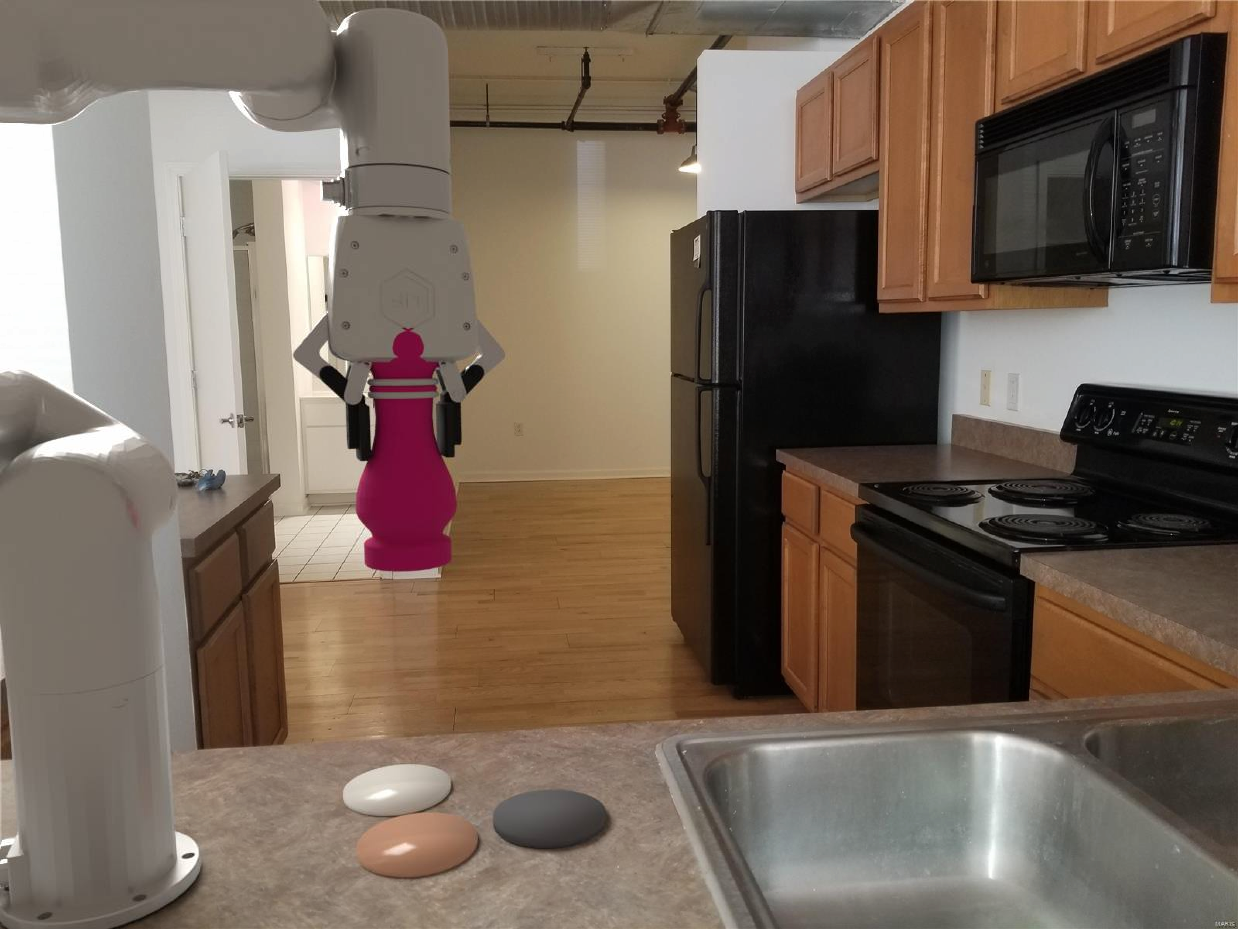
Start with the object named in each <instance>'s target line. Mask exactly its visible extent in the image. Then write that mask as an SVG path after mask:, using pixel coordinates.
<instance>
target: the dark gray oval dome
mask: <svg viewBox="0 0 1238 929" xmlns="http://www.w3.org/2000/svg"><path fill="white" fill-rule="evenodd" d="M492 817H493V818H492V819H493V820H492V826H493V829H494V832H495V834H497V836H499V837H500V838H501V839H503V840H505V841H507V842H509V843H512V844H515V845H518V846H522V847H526V848H527V847H528V848H537V849H557V848H563V847H571V846H575V845H579V844H582V843H585V842H586V841H589V840H591V839H593V838H594V837H596V836H597V835H598V834H600V833H601V832H602V830H603V829H604V828H605V826H606V822H607V809H606V806H605V805H604V804H603V803H602V801H600V800H599V799H597V798H595V797H594V796H591V795H589V794H586V793H583V792H580V791H579V792H578V791H574V790H567V789H566V790H565V789H540V790H531V791H527V792H522V793H520V794H519V793H518V794H515V795H513V796H511V797H508V798H506V799H504V800H503V801H501V802H500V803H499V804H498V805H497V806H496V807H495V809H494V811H493V814H492Z"/></svg>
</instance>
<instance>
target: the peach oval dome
mask: <svg viewBox="0 0 1238 929" xmlns="http://www.w3.org/2000/svg"><path fill="white" fill-rule="evenodd" d="M478 836H479V835H478V831H477V829H476V827H475V825H473V824H472V822H471V821H468V820H467V819H466V818H463V817H461V816H458V815H455V814H450V813H445V812H434V811H433V812H414V813H409V814H404V815H398V816H396V817H395V816H394V817H392V818H389V819H386V820H384V821H382V822H379V823H378V824H376V825H374V826H372V827H370V828H369V829H368V830H367V831H365V832H364V833H363V834H362V835H361V836H360V838H359V839H358V841H357V843H356V849H355V850H356V851H355V852H356V858H357V861H358V863H359V864H360V865H361V867H363V868H365V869H366V870H368V871H370V872H372V873H373V874H377V875H380V876H384V877H389V878H390V877H392V878H418V877H419V878H420V877H425V876H430V875H435V874H438V873H442V872H444V871H447V870H449V869H451V868H454V867H456V866H458V865H460V864H462V863H464V861H466V860H467V859H468V858H470V856H471V855H473V853H474V852H475V850H476V848H477V846H478V843H479V842H478Z"/></svg>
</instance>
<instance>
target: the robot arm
mask: <svg viewBox="0 0 1238 929" xmlns="http://www.w3.org/2000/svg"><path fill="white" fill-rule="evenodd" d="M446 38H447V37H446V35H445V33H444V31H443V29H442V28H441V26H439V24H438V23H436V22H435V21H434V20H433V19H431V18H429V17H427V16H426V15H423V14H420V13H417V12H414V11H410V10H405V9H401V8H390V7H375V8H369V9H362V10H359V11H356V12H354V13H352V14H350V15H349V16H347V17H346V18H345V19H343V21H342V22H341V24H340V26H339V28H338V29H337V30H332V28H331V24H330V21H329V19H328V17H327V14H326V12H325V11H324V8H323V6H321V4H320V2H319V1H318V0H0V124H1V125H2V124H3V125H4V124H5V125H31V126H33V125H35V126H53V125H59V124H63V123H66V122H68V121H70V120H73V119H74V118H76V117H78V116H79V115H81V113H82V112H83V111H84V110H86V109H87V108H89V107H90V106H91V105H93V104H94V103H96V102H98V101H100V100H103V99H105V98H106V99H107V98H109V97H113V96H116V95H121V94H127V93H135V92H146V91H202V92H203V91H204V92H205V91H206V92H225V93H229V95H230V98H232V101H233V102H234V103H235V105H236V106H237V108H238V109H239V111H241V113H243V115H244V116H246V118H248V119H249V120H250V121H252V122H253V123H255V124H256V125H258V126H261V127H263V128H265V129H268V130H272V131H275V132H283V133H302V132H303V133H305V132H312V131H314V132H315V131H321V130H329V129H339V132H340V133H339V138H340V139H339V140H340V165H341V166H340V167H341V170H340V171H341V174H340V175H338V177H337V178H336V179H333V178H332V179H331V180H330V181H329V180H320V200H321V201H325V202H332V204H337V206H338V207H339V208H341V214H342V215H337V216H335V217H334V218H333V222H332V227H331V233H330V240H329V255H328V256H329V257H328V268H327V282H326V313H324V314H323V316H322V317H321V318H320V320H319V321H318V322H317V323H316V324H315V325H314V326H313V328H311V330H310V332H308V334H307V335H306V336H305V337H304V338H303V340H302V341H301V342H300V343H299V344H298V346H296V348H295V349H294V350H293V352H292V357H293V359H294V360H295V362H297V363H298V364H299V365H301V366H302V367H303V368H305V369H306V370H307V371H309V372H310V373H311V374H313V375H314V376H315V377H316V378H318V379H319V380H320V381H321V382H323V384H325V386H327V388H329V389H330V390H331V391H332V392H333V393H334V394H335V395H336V396H337V397H338V398H339V399H341V400H342V401H343V402H344V403H345V422H346V424H345V426H346V447H347V449H348V450H355V454H356V455H355V456H356V459H357V460H358V461H359V462H367V461H368V460H369V459H371V449H372V440H371V438H372V435H371V434H372V433H371V410H370V409H371V408H370V405H368V404H366V395H365V394H364V393H365V387H366V384H367V381H368V378H369V375H370V372H371V371H370V368H371V364H372V363H371V362H390V361H391V360H392V359H394V358H397V356H396V355H394V353H393V348H392V347H393V342H394V339H395V338H396V336H397V335H398V334H399V333H401V332H404V331H405V330H404V329H402V328H404V327H405V328H407V329H409V328H411V327H412V328H414V329H413V330H411V331H410V332H415V333H417V334H418V335H420V337H421V339H422V341H423V344H424V351H423V354H422V355H421V356H420V357H421V358H423V359H424V360H426V362H438V367H437V368H436V369H435V371H434V374H435V378H436V379H438V381H439V382H438V385H439V388H440V391H441V392H440V393H439V400H438V401H437V402H436V404H435V418H436V419H435V420H436V421H435V422H436V423H435V426H436V428H435V429H436V441H437V445H438V448H439V450H440V453H441V455H442V457H444V458H446V459H450V458H455V455H456V446H461V445H462V440H463V438H462V437H463V434H462V432H463V431H462V429H463V428H462V402H463V401H464V400H466V397H467V395H468V394H469V393H470V392H471V391H473V389H474V388H475V387H476V386H477V385H478V384H479V383H480V382H481V381H482V379H483V378H484V377H485V376H486V375H487V374H488V373H489V372H491V371H492V370H493V369H494V368H495V367H497V365H498V364H500V363H501V362H502V361H503V360H504V359H505V358H506V357H505V356H506V352H505V349H504V348H503V347H502V346H501V344H500V343H498V341H497V340H496V339H495V338H494V336H493V335H492V334H491V333H490V332H489V331H488V330H487V328H486V327H485V326H484V325H483V324H482V322H481V321H480V320H479V319H478V316H477V314H478V313H477V306H476V294H475V292H476V291H475V285H474V284H475V283H474V274H473V266H472V259H471V251H470V246H469V241H468V236H467V231H466V228H465V225H464V224H465V223H464V222H463V221H460V220H456V219H455V220H454V219H453V206H452V205H453V204H452V203H453V202H452V201H453V200H452V198H453V197H452V166H451V127H450V126H451V121H450V118H451V117H450V116H451V115H450V84H449V83H450V81H449V78H450V75H449V74H450V72H449V51H448V42H447V39H446ZM326 343H327V344H328V350H329V351H330V354H331V355H332V356H334V357H335V358H337V359H339V360H342V361H347V362H348V366H347V369H346V373H345V376H344V375H343V374H342V373H341V372H340V371H339V370H338V369H337V368H335V367H334V366H333V365H332V364H330V363H329V362H328V361H326V360H325V359H324V358H323V357H322V356H321V353H320V352H321V349H322V348H323V346H325V344H326ZM477 350H478V355H477V357H476V358H475V359H474V360H473V361H472V362H471V363H470V364H468V365H467V366H465V367H464V369H462V371H459V370H460V369H459V368H458V363H457V362H459V361H462V360H463V361H464V360H466V359H467V360H468V359H469V358H471V357H472V356H474V355H475V353H476V352H477ZM178 492H179V490H178V481H177V477H176V474H175V471H174V469H173V467H172V464H171V463H170V461H169V460H168V458H167V457H166V455H165V454H164V452H162V451H161V449H160V448H159V447H157V446H156V445H155V444H154V443H153V442H152V441H151V440H149V439H148V438H146V437H145V436H143V435H142V434H140V433H139V432H137V431H135V430H134V429H133V428H130V427H129V426H127V425H126V424H124V423H122V422H121V421H119V420H118V419H116V418H114V417H113V416H111V415H110V414H108V413H106V412H104V411H103V410H101V409H100V408H98V407H96V406H95V405H93V404H92V403H90V402H88V401H86V400H85V399H83V398H81V397H80V396H78V395H77V394H75V393H73V392H72V391H71V390H69V389H68V388H65V387H64V386H62V385H60V383H57V382H56V381H54V380H53V379H51V378H49V377H47V376H46V375H44V374H43V373H41V372H39V371H38V370H36V369H34V368H33V367H31V366H29V365H27V364H26V363H24V362H22V361H19V360H17V359H16V358H13V357H11V356H10V355H7V354H5V353H3V352H0V636H1V645H2V655H3V656H2V658H3V665H4V668H3V669H4V678H5V681H4V682H5V686H6V698H7V708H8V710H7V711H8V721H9V722H8V723H9V734H10V736H9V737H10V745H11V758H12V771H13V774H12V775H13V783H14V784H13V785H14V786H13V787H14V796H15V797H14V798H15V809H16V820H17V821H16V822H17V823H16V824H17V833H16V835H12V836H8V837H7V836H5V837H3V838H2V841H1V843H0V923H1V924H2V926H4V927H6V928H7V929H113V928H117V927H120V926H123V925H126V924H128V923H131V922H133V921H136V920H139V919H141V918H144V917H145V916H148V915H150V914H151V913H154V912H156V911H158V910H160V909H162V908H163V907H166V905H168V904H170V903H171V902H173V901H175V899H177V898H178V897H180V896H181V895H182V894H183V893H184V892H186V890H188V889H189V887H191V885H193V883H194V882H195V881H196V879H197V877H198V875H199V874H200V872H201V866H202V860H201V858H202V857H201V849H200V847H199V845H198V843H197V841H195V840H194V839H193V838H192V837H190V836H189V835H187V834H184V833H181V832H179V831H176V819H175V818H176V817H175V804H174V788H173V774H172V773H173V772H172V755H171V739H170V738H171V737H170V724H169V723H170V722H169V720H170V719H169V707H168V706H169V704H168V690H167V674H166V660H165V646H164V645H165V644H164V635H163V634H164V633H163V622H162V611H161V602H160V597H159V596H160V595H159V589H158V584H157V579H156V573H155V564H154V556H153V540H155V539H156V538H157V537H158V535H160V534H161V533H162V532H163V530H164V529H165V528H166V527H167V525H168V524H169V522H170V521H171V518H172V517H173V515H174V513H175V510H176V506H177V502H178V497H179V496H178Z"/></svg>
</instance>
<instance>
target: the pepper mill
mask: <svg viewBox="0 0 1238 929" xmlns="http://www.w3.org/2000/svg"><path fill="white" fill-rule="evenodd" d="M402 329H404V330H405V331H404V332H401V333H399V334H398V335H397V336H396V338H395V339H394V342H393V347H392V348H393V353H394V355H396V356H397V358H394V359H392V360H391V361H390V362H371V363H372V364H371V368H370V371H369V372H370V374H371V375H372V378H369V379H367V381H366V384H368V386H369V387H368V390H369V392H367V397H368V398H370V399H373V406H374V416H375V422H374V423H375V424H374V435H373V436H374V437H373V440H372V441H373V442H372V444H371V459H369V460H368V461H366V463H365V466H364V469H363V471H362V473H361V476H360V477H359V478H360V479H359V482H358V486H357V489H356V490H357V491H356V494H355V495H356V496H355V514H356V515H357V516H356V517H357V518H358V520H359V521H360V522H361V524H363V526H364V527H365V528H366V529H367V530H368V531H369V532H370V533H371V536H370V537H369V538H367V539H366V540H365V541H364V543H363V551H364V552H363V553H364V554H363V555H364V565H365V566H366V567H367V568H369V569H371V570H375V571H379V572H396V573H397V572H400V573H401V572H419V571H425V570H432V569H436V568H437V569H439V568H440V567H444V566H446V565H448V564H449V563H450V562H451V561H452V557H453V556H452V538H451V536H449V535H447V534H445V533H444V531H445V529H446V527H447V526H448V525H449V524H450V522H451V521H452V519H453V518H454V516H455V515H456V512H457V510H458V500H457V492H456V488H455V484H454V480H453V477H452V475H451V472H450V470H449V469H448V466H447V464H446V462H445V460H444V458H443V456H442V455H441V453H440V450H439V448H438V445H437V437H436V435H435V428H434V418H433V413H434V412H433V411H434V398H438V397H440V392H438V387H437V385H439V383H438V382H439V381H438V379H437V377H433V376H434V374H435V369H436V368H437V367H438V362H426V360H424V359H423V358H421V357H420V356H421V355H422V354H423V351H424V344H423V341H422V339H421V337H420V335H418V334H417V333H415V332H410V331H411V330H413V329H414V328H412V327H411V328H409V329H407V328H405V327H404V328H402Z"/></svg>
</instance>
